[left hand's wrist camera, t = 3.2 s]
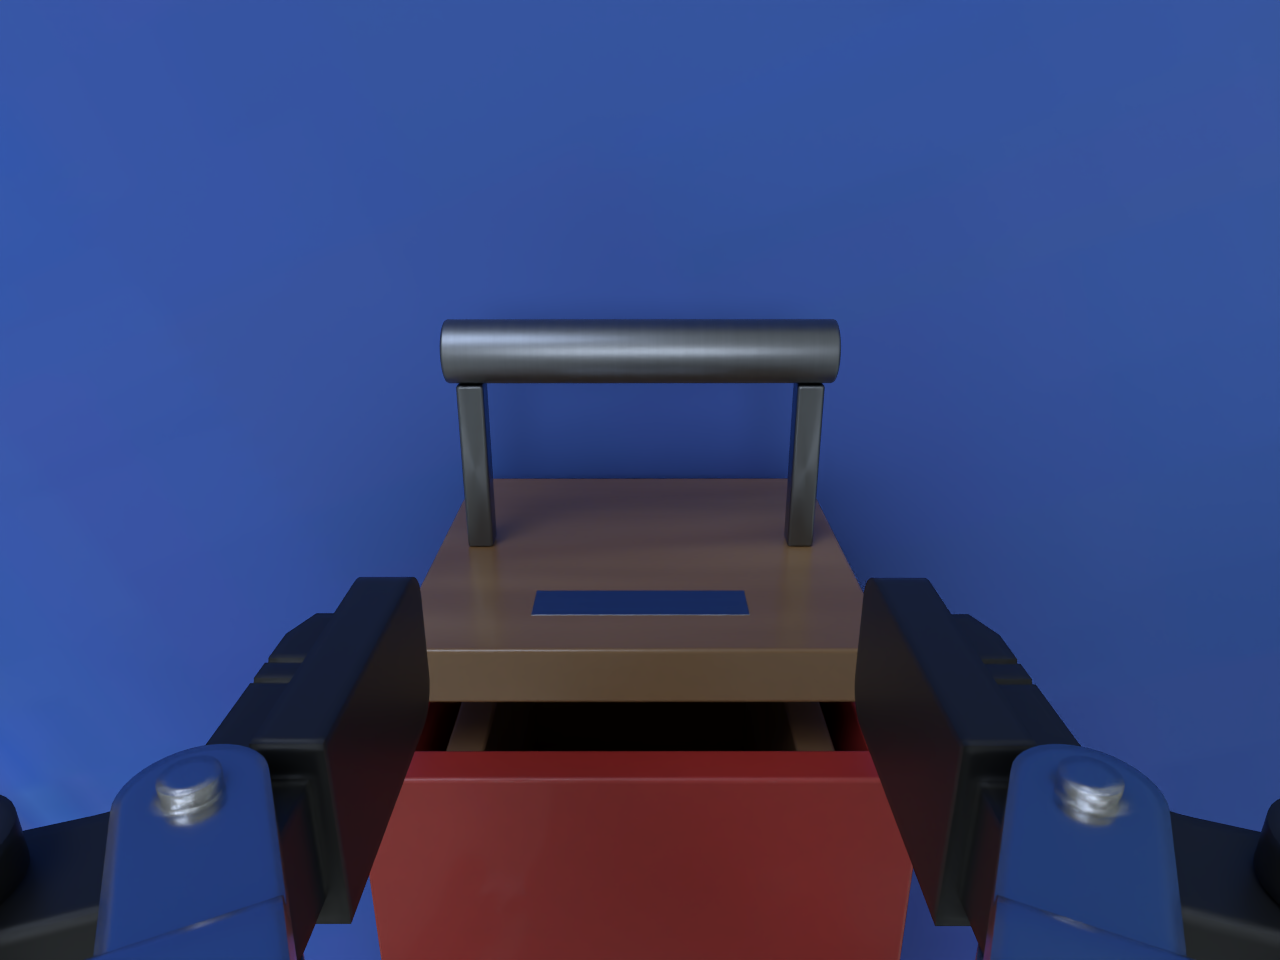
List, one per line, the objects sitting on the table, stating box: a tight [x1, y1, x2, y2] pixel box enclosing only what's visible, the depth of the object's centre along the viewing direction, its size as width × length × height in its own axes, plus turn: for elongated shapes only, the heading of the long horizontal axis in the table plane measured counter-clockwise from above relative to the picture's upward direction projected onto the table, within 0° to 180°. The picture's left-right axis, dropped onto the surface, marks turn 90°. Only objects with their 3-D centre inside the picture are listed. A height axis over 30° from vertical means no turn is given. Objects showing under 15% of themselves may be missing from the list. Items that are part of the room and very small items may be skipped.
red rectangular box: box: [369, 702, 913, 960], centre depth 25 cm, size 18×11×11 cm, turn 0°
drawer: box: [420, 319, 864, 751], centre depth 23 cm, size 22×10×9 cm, turn 0°
